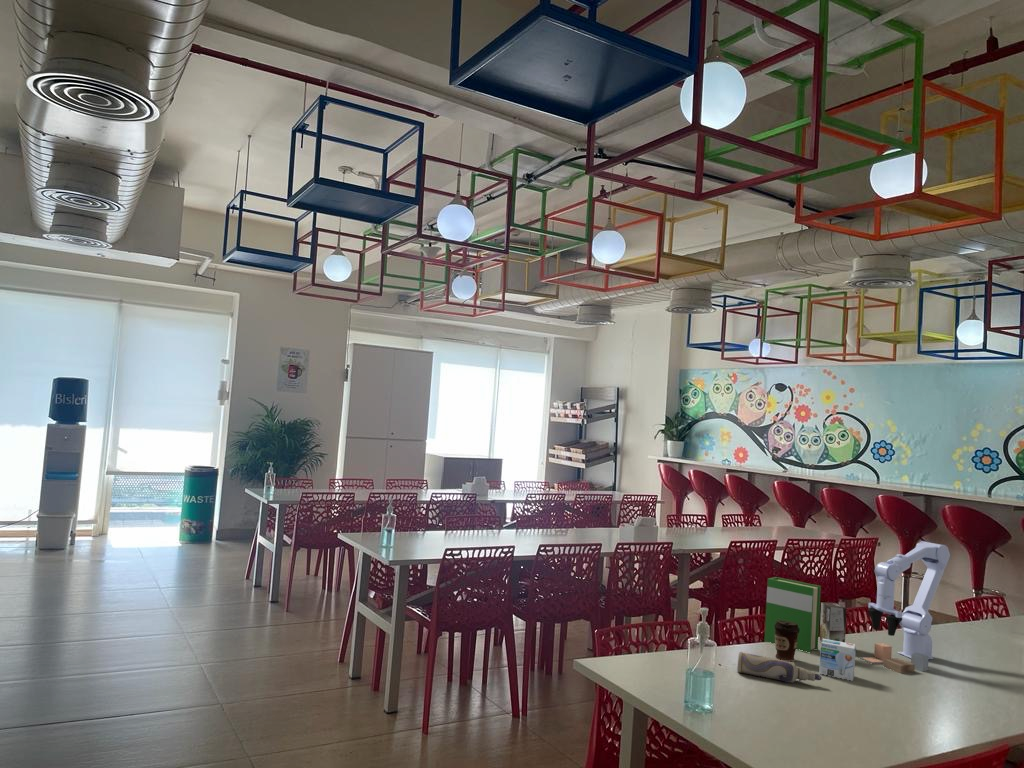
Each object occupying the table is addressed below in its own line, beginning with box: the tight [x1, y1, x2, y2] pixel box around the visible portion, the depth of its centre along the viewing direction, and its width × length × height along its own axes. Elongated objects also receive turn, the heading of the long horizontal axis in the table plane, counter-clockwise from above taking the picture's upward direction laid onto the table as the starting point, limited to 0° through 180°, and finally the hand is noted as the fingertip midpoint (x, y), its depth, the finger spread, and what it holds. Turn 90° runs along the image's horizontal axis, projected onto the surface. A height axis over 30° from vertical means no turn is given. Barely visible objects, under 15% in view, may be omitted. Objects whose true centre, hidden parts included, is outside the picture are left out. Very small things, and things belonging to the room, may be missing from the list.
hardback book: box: [763, 576, 822, 653], centre depth 280 cm, size 18×7×24 cm, turn 45°
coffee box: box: [819, 601, 847, 644], centre depth 282 cm, size 9×6×16 cm
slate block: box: [910, 653, 929, 672], centre depth 260 cm, size 4×4×5 cm
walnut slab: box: [882, 657, 916, 674], centre depth 258 cm, size 7×7×3 cm
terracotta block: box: [873, 642, 893, 661], centre depth 271 cm, size 4×4×5 cm
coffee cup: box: [774, 620, 800, 662], centre depth 260 cm, size 9×8×13 cm
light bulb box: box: [818, 638, 856, 682], centre depth 246 cm, size 11×7×11 cm, turn 62°
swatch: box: [857, 656, 883, 665], centre depth 266 cm, size 7×7×1 cm
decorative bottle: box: [736, 651, 822, 684], centre depth 237 cm, size 26×8×7 cm, turn 67°
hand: (883, 632), depth 271 cm, fingers open, 7 cm apart
